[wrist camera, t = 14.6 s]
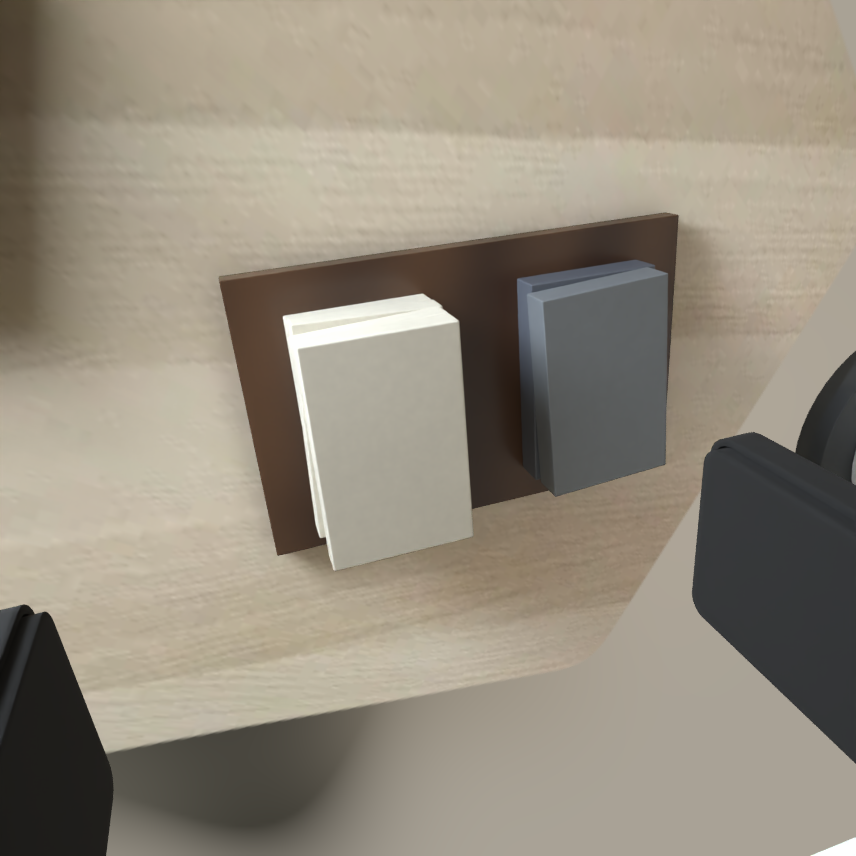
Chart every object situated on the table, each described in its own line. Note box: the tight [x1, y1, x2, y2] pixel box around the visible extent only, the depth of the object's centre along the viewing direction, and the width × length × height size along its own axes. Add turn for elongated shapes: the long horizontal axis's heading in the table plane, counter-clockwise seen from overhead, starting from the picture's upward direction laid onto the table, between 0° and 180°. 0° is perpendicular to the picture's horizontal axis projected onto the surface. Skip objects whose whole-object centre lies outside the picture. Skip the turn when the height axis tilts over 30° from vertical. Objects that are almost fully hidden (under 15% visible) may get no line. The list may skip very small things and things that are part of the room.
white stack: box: [283, 294, 448, 538], centre depth 34 cm, size 8×11×4 cm, turn 6°
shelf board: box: [219, 213, 678, 556], centre depth 38 cm, size 24×15×1 cm, turn 96°
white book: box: [292, 313, 474, 571], centre depth 32 cm, size 7×11×1 cm, turn 5°
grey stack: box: [517, 260, 668, 497], centre depth 37 cm, size 7×11×4 cm, turn 6°
